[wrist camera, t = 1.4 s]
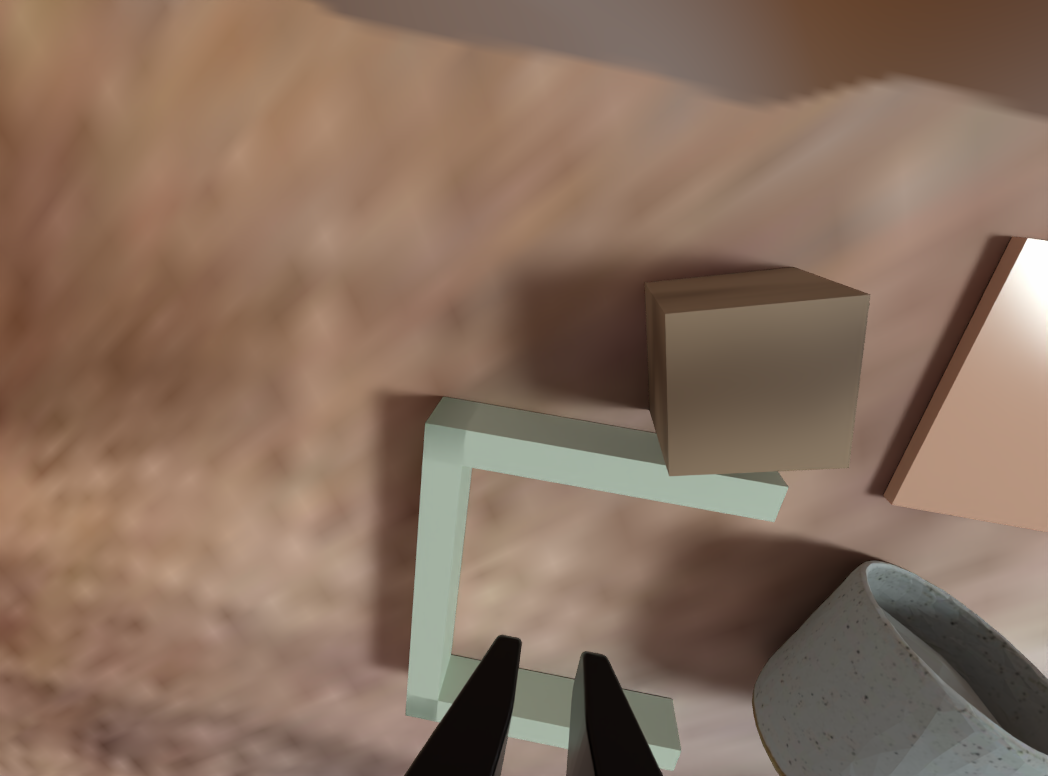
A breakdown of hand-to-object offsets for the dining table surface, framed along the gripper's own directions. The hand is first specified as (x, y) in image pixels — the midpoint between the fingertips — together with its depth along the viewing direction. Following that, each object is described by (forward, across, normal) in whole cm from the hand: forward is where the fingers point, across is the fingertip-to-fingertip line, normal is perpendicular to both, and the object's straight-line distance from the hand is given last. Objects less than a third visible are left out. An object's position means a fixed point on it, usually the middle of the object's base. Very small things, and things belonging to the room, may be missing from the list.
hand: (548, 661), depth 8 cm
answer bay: (+12, -2, +9) cm, 15 cm away
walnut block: (+12, -5, -3) cm, 13 cm away
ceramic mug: (+12, -16, +9) cm, 22 cm away
